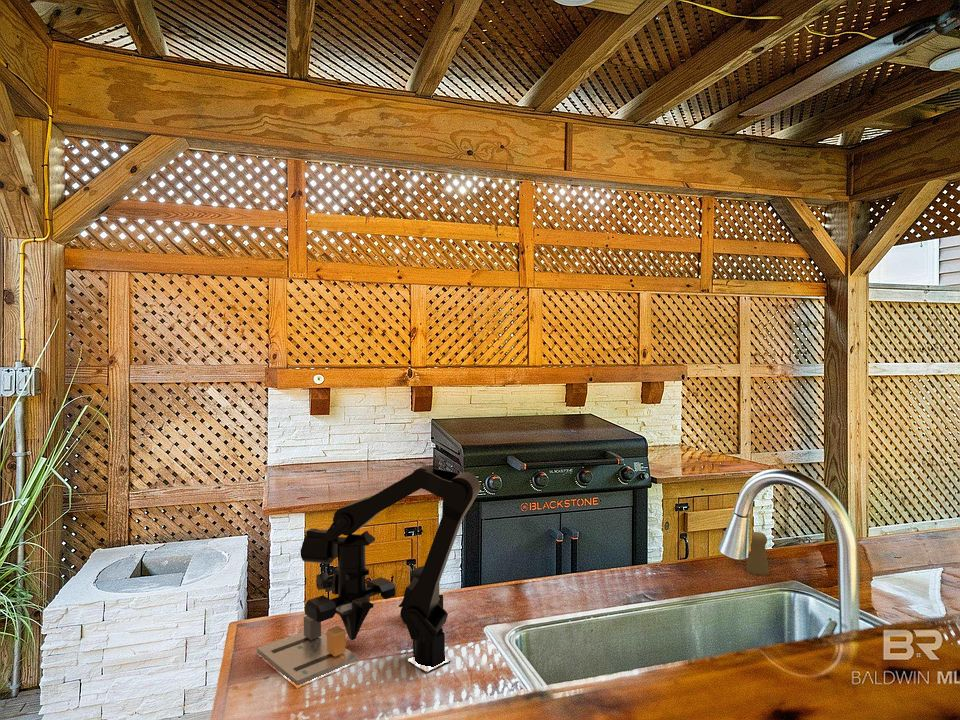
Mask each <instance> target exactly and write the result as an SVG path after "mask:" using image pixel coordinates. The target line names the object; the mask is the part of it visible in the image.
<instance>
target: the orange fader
mask: <svg viewBox="0 0 960 720" xmlns="http://www.w3.org/2000/svg"><path fill="white" fill-rule="evenodd" d="M326 636H327V652H329V653H330V654H331V655H333V656H334V657H335V656H337V655H340V654H342V653H345V648H346V629H344V628H342V627H341V626H339V625H335V626H334V627H330V628H328V629H326Z"/></svg>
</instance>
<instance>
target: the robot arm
mask: <svg viewBox="0 0 960 720" xmlns="http://www.w3.org/2000/svg"><path fill="white" fill-rule="evenodd" d="M421 489H423V490H425V491H427V492H428V493H431V494H433V496H436V497H438V498H441V499H442V505H441V507H442V508H441V509H442V511H441V514H442V515H441V519H440V521H439V524H438V526H437V529H436V532H435V535H434V538H433V540H432V542H431V543H432V544H431V546H430V549H429V550H428V551H429V552H428V554H427V557H426V560H425V563H424V565H423V566H424V568H423V570H422V573H421V576H420V579H417V578H415V579H414V580H413V579H412V581H411V582H410V583H409V584H408V585H407V586H406V587H405V589H404V594H403V599H402V601H401V603H400V604H398V608H401V609H400V613H399V614H400V615H399V616H400V618H401V620H402V622H403V623H404V625H405V626H406V629H407V631H408V634H409V637H410V639H411V640H412V655H413V656H414V657H415V661H416V662H417V663H418V664H421V665H425V666H431V667H434V666H436V665H438V664H440V663H442V662H443V661H445V655H446V648H445V647H446V643H445V642H446V635H445V632H444V629H443V626H444V625H445V624H446V621H447V619H448V616H449V613H448V612H447V611H446V610H445V608H444V607H443V608H442V607H441V605H440V604H439V603H438V598H439V587H440V582H441V579H442V575H443V573H444V571H445V568H446V565H447V562H448V560H449V556H450V554H451V551H452V548H453V546H454V543H455V540H456V539H457V536H458V535H457V534H458V532H459V530H460V527H461V524H462V522H463V519H464V517H465V516H466V515H467V513H468V511H469V510H470V508H471V506H472V505H473V503H474V502H475V500H476V498H477V496H478V495H479V493H480V490H481V483H480V481H479V479H478V477H477V476H476V475H475V474H473V473H471V472H468V471H466V472H465V471H464V472H460V473H459V472H456V471H452V470H448V469H447V470H445V469H443V468H442V469H440V468H437V467H433V466H430V465H428V464H427V465H423V466H422V465H421V466H419V467H418V468H417V469H414V471H412V472H411V473H410V474H409V475H407V476H405V477H404V478H402V479H400V480H398V481H397V482H394V483H393V484H391V485H389V486H387V487H386V488H384V489H383V490H380V491H379V492H377V493H375V494H373V495H370V496H366V497H363V498H360V499H357V500H354V501H352V502H349V503H347V504H346V505H344V506H342V507H340V508H338V509H337V510H336V511H334V513H333V518H332V523H331V524H330V525H329V528H328V529H318V528H310V529H307V530H306V531H305V537H304V539H303V541H302V544H301V548H300V557H301V560H302V561H303V562H304V563H305V562H306V563H314V564H315V563H317V564H318V563H319V564H320V563H321V564H331V563H333V562H334V560H336V559H337V567H336V568H334V570H333V574H331V575H329V574H328V572H326V571H325V572H323V573H318V574H316V577H315V579H316V581H315V583H316V584H315V585H316V589H317V590H318V591H321V590H325V593H329V592H331V594H333V595H337V597H333V598H331V599H330V598H329V597H327V596H325V595H319V596H317V597H313V598H311V599H308V600H307V601H306V603H305V604H304V615H305V616H309V617H310V618H312V619H313V620H315V621H316V622H321V623H322V622H325V621H327V620H330V619H331V620H332V619H333V618H334V617H335V615H338V616H339V617H340V618H341V621H342V623H343V626H344V627H345V632H346V634H347V636H348V639H349V640H350V641H354V640H356V639H357V636H358V635H359V632H360V630H361V627H362V625H363V623H364V621H365V619H366V618H367V616H368V614H369V612H370V611H371V609H373V608H374V607H375V606H374V603H372V602H371V597H373V596H377V595H380V597H381V598H382V599H383V600H388V599H391V598H394V597H396V595H397V588H396V584H395V583H394V582H393V581H391V580H388V579H386V578H385V577H384V578H383V576H380V577H378V578H374V579H371V580H368V581H366V579H367V576H369V575H370V569H368V568H366V567H367V566H366V547H367V546H370V545H371V544H373V543H374V542H375V541H376V537H374V536H373V535H372V534H370V533H369V531H368V530H365V531H364V532H362V533H361V534H360V533H359V534H358V533H356V532H357V531H359V530H360V529H362V528H363V527H365V526H366V525H367V524H369V522H371V521H372V520H373V519H374V518H376V516H377V515H379V514H380V513H381V512H382V511H384V510H385V509H387V508H389V507H391V506H393V505H395V504H396V503H398V502H399V501H402V500H403V499H405V498H407V497H408V496H410V495H412V494H414V493H415V492H417V491H419V490H421ZM342 535H343V536H342ZM345 536H346V537H345Z"/></svg>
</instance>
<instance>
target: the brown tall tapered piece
mask: <svg viewBox="0 0 960 720" xmlns="http://www.w3.org/2000/svg"><path fill="white" fill-rule="evenodd" d="M751 532H752V543H751V552H750V555H749V558H748V557H747V558H748V559H746V569H745V571H746V572H748V573H749V574H752V573H753V574H752V575H756V574H759V575H758V576H767V575H769V574H770V568H769V562H768V557H767V550H766V549H767V548H766V545H767V542H768V537H767V535H766V534H765V533H763V532H759V531H751ZM766 574H767V575H766Z"/></svg>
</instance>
